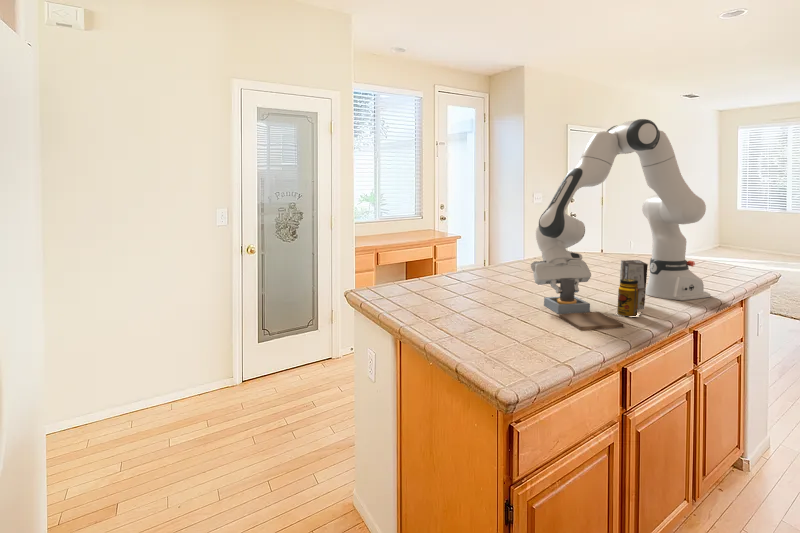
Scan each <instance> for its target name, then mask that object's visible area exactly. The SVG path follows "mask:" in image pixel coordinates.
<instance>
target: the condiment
mask: <svg viewBox="0 0 800 533" xmlns="http://www.w3.org/2000/svg"><path fill="white" fill-rule="evenodd" d="M617 294H618V296H617V308H616V309H617V311H616V312H615V313H614V314H613V315H614V316H619V315H621V316H619V317H623V316H636V315H637V312H638V310H639V309H638V295H639V289H638V280H635V279H621V280H620V279H619V287H618V293H617ZM640 312H641V313H642V314H643V313H644V312H643V311H640ZM616 313H617V314H618V315H616ZM642 314H640V316H641V315H642Z"/></svg>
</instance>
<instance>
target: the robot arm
mask: <svg viewBox="0 0 800 533" xmlns="http://www.w3.org/2000/svg"><path fill="white" fill-rule="evenodd" d="M632 153H636V154H637V156H638V158H639V162H640V166H641V169H642V173H643V176H644V179H645V181H646V185H647V187H649V189H651V190H652V191H653V192H654V193H655V194H654V195H651V196H648V197H647V198H646V199H645V200H644V202H643V204H642V209H641V210H642V214H643V216H644V217H645V218H646V219H647V221H648V223H649V227H650V231H651V237H652V247H651V248H652V249H651V258H650V259H649V275H648V279H647V280H648V282H647V283H646V292H645V295H647V296H651V297H654V298H659V299H667V300H677V301H689V300H697V299H704V298H710V297H711V295H712V294H711V293H710V292H708V291H705V287H704V281H703V279H701V277H699V276H697V275H696V274H695V273H694V272H692V271H691V270H690V268H689V267H692V268H693V267H694V266H695V265H696V262H695V261H693V260H687V259H686V252H687V238H686V236H684V234H683V233H682V232H681V228H680V225H689V224H695V223H698V222H699V221H701V220H702V218H704V217H705V214H706V210H707V205H706V203H705V201H704V200H703V199H702V198H701V197H700V196H698V195H697V194H696V193H695V192H694V191H693V190H692V189H691V188H690V187H689V185H688V183H687V182H686V181H685V179H684V178H683V176H682V173H681V170H680V168H679V164H678V161H677V157H676V154H675V150H674V149H673V146H672V144H671V141H670V139H669V137H668V136H667V134H666V133H665V131H663V130H660V129H659V128H658V126H657V125H656V123H655V122H653V120H650V119H648V118H647V119H645V118H641V119H640V118H639V119H636V120H629V121H626V122H625V121H624V122H623V123H620V124H618V125H613V126H611V127H610V128H608V129H606V131H605V130H604V131H598V132H596V133H594V134H593V135H592V137H590V139H589V141H588V143H587V144H586V146H585V148H584V150H583V152H582V153H581V157H580V159H579V161H578V163H577V165H576V166H574V168H572V169H570V170H569V171H568V172H567V174H566V175H565V176H564V178H563V180H562V181H561V182H560V185H559V186H558V188H557V191H556V192H555V194H554V196H553V197H552V199H551V201H550V202H549V204H548V206H547V208H546V209H545V210H544V211H543V212H542V214H541V215H540V217H539V219H538V226H537V227H536V230H535V241H536V243H537V247H538V249H539V251H540V252H541V257H542V260H539V261H537V260H535V261H533V262H531V264H530V269H531V271H532V273H533V274H532V275H533V279H534V283H535V284H536V285H538V286H539V285H550V287H551V288H552V289H554V291H555V293H556V294H560V293H561V292H562V288H561V287H560V286H559V285H558V284H560V279H561V278H573V279H575V293H579V291H580V288H579V284H580V283H587V282H589V280H590V279H591V277H592V273H591V269H590V268H589V266H588V264H587V263H586V262H585V260H583V255H582V254H581V253H577V252H573V251H570V250H567V249H568V248H570V247H572V246H574V245H576V244H578V243H579V242H581V241H582V240H583V238H584V236H585V234H586V225H585V223H584V222H583V221H582V220H579V219H578V218H576V217H573V216H571V215H569V214H566V210H567V208H568V206H569V204H570V203H571V201H572V199H573V198H574V196H575V194H576V192H577V191H578V190H579V189H581V188H586V187H589V188H590V187H591V188H592V187H595V186H599V185H600V184H602V183H604V182H605V181H606V180H607V178H608V176H609V174H610V172H611V170H612V167H613V165H614V161H615V159H616V157H617V156H618V155H623V154H625V155H626V154H632ZM575 293H574V294H575Z"/></svg>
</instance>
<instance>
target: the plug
mask: <svg viewBox="0 0 800 533" xmlns="http://www.w3.org/2000/svg"><path fill="white" fill-rule="evenodd" d="M559 287H561V288H562V292H561V293H559V297H560V298H559V299H557V303H558V304H577V300H576V299H574V296H575V279H573V278H561V279H560V285H559Z"/></svg>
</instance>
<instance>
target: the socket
mask: <svg viewBox="0 0 800 533" xmlns="http://www.w3.org/2000/svg"><path fill="white" fill-rule="evenodd" d="M559 298H560V296H550V297H549V296H548V297H544V299H543V306H544V307H546V308H548V309H550V310H551V311H552V312H554V313H556V314H557V315H559V314H569V313H587V312H591V303H590V302H588V301H585V300H583V299H581V298H579V297H577V296H575V295H574V299H576V300H577V304H558V303H557V299H559Z"/></svg>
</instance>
